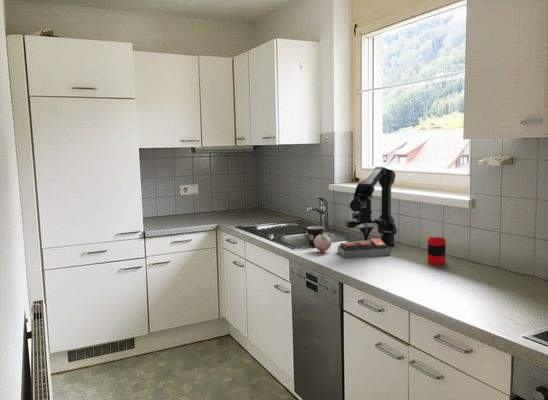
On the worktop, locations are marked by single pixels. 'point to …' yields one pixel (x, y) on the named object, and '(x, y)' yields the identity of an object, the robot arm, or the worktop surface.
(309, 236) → the coffee mug
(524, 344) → the worktop surface
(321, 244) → the decorative fruit
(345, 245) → the rocker
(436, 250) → the soda can
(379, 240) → the rocker
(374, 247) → the power strip
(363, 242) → the middle rocker
